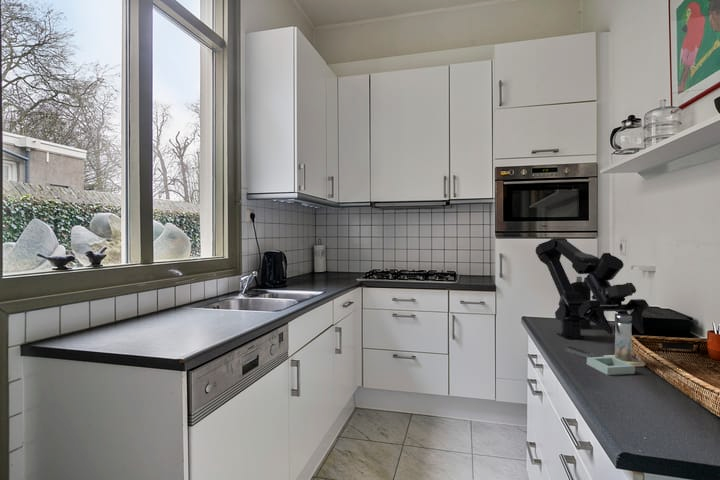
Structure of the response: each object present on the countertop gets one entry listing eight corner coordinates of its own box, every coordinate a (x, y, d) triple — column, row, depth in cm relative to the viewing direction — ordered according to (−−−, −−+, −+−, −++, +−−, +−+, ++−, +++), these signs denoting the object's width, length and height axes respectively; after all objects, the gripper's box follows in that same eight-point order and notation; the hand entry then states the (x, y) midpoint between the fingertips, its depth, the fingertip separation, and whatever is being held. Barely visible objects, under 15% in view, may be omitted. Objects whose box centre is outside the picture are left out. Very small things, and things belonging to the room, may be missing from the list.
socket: (586, 364, 109) (586, 357, 109) (612, 362, 110) (612, 356, 110) (607, 375, 101) (607, 367, 101) (634, 373, 102) (634, 366, 102)
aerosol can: (594, 329, 145) (595, 278, 144) (571, 329, 146) (571, 278, 146) (586, 324, 153) (586, 275, 152) (564, 323, 154) (564, 275, 154)
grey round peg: (611, 357, 112) (611, 314, 111) (621, 355, 113) (621, 312, 113) (624, 362, 108) (625, 317, 107) (635, 360, 109) (635, 315, 109)
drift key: (565, 351, 121) (565, 347, 121) (569, 350, 122) (569, 346, 121) (590, 358, 114) (590, 355, 113) (593, 357, 114) (594, 354, 114)
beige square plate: (603, 358, 113) (603, 355, 113) (625, 357, 114) (625, 354, 114) (621, 367, 106) (621, 363, 106) (644, 366, 107) (644, 362, 107)
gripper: (584, 274, 113) (609, 319, 102) (644, 272, 114) (675, 317, 103) (568, 295, 121) (590, 339, 111) (624, 294, 122) (652, 337, 111)
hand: (627, 333), depth 109 cm, fingers open, 9 cm apart
